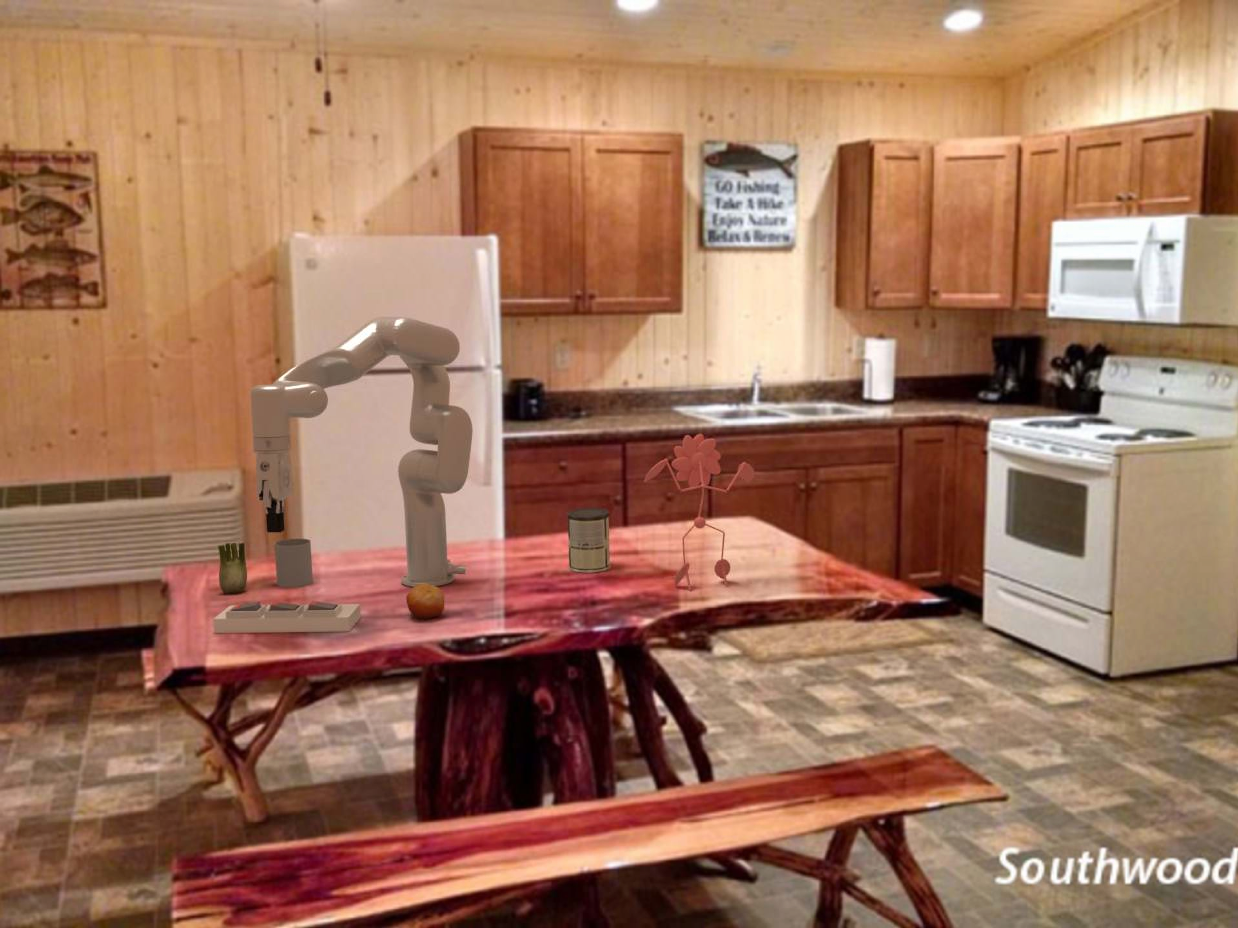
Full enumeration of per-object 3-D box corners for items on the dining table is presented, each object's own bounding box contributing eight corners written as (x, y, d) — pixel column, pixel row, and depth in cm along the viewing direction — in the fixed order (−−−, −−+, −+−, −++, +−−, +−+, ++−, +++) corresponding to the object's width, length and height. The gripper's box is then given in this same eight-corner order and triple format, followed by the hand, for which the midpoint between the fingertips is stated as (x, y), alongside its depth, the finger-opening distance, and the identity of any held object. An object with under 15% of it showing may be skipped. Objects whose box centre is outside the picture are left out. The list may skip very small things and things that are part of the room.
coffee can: (562, 566, 297) (560, 510, 295) (599, 561, 301) (598, 506, 299) (578, 575, 288) (577, 517, 285) (617, 569, 292) (616, 513, 290)
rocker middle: (298, 610, 249) (298, 604, 249) (293, 614, 246) (294, 608, 246) (274, 606, 249) (275, 600, 249) (269, 610, 246) (270, 604, 246)
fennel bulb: (249, 589, 280) (245, 539, 279) (243, 595, 276) (240, 544, 274) (224, 590, 280) (220, 540, 278) (218, 595, 275) (214, 545, 274)
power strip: (360, 617, 255) (359, 597, 255) (349, 631, 245) (347, 610, 245) (231, 619, 256) (229, 599, 255) (214, 632, 246) (212, 612, 245)
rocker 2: (336, 609, 249) (336, 603, 249) (332, 614, 246) (332, 608, 246) (312, 606, 249) (313, 600, 249) (308, 610, 246) (308, 604, 246)
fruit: (428, 601, 262) (436, 574, 257) (444, 625, 257) (453, 599, 253) (395, 608, 257) (403, 580, 252) (411, 633, 252) (419, 606, 248)
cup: (303, 588, 281) (300, 546, 279) (270, 587, 282) (268, 545, 281) (318, 579, 289) (316, 538, 287) (287, 578, 290) (284, 538, 289)
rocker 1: (260, 606, 250) (259, 600, 249) (255, 611, 246) (254, 605, 246) (237, 611, 250) (236, 605, 250) (232, 615, 247) (231, 609, 246)
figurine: (762, 583, 276) (760, 433, 271) (658, 595, 268) (653, 441, 263) (734, 570, 290) (731, 427, 286) (634, 581, 282) (630, 434, 277)
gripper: (277, 449, 239) (281, 538, 242) (300, 440, 254) (304, 524, 257) (241, 449, 240) (245, 538, 242) (266, 440, 255) (269, 524, 257)
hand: (275, 531), depth 250 cm, fingers closed
